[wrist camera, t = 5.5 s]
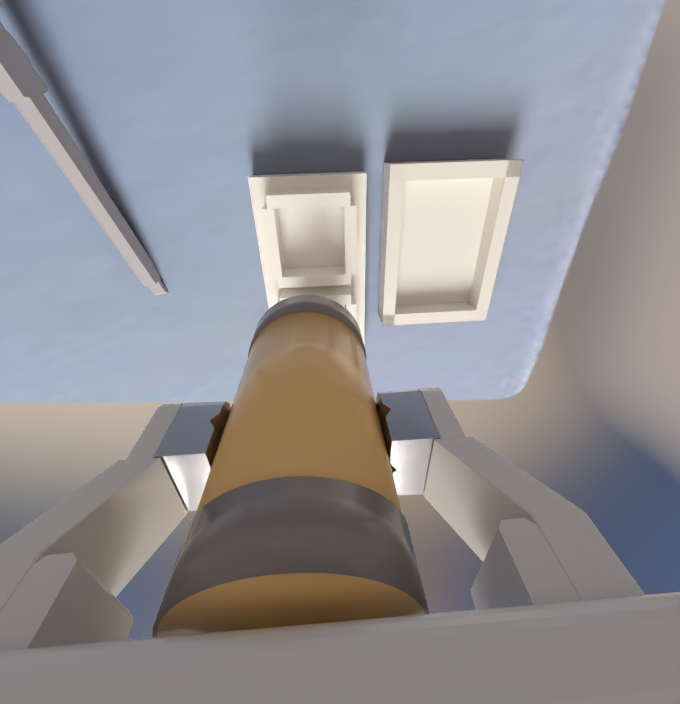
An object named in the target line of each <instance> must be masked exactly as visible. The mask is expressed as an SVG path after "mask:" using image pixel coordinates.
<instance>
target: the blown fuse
mask: <svg viewBox="0 0 680 704" xmlns="http://www.w3.org/2000/svg"><path fill="white" fill-rule="evenodd" d="M422 614H429V610H428V606H427V601H426V598H425V593H424V589H423V586H422V581H421V577H420V573H419V569H418V565H417V561H416V556H415V552H414V548H413V544H412V540H411V536H410V532H409V528H408V524H407V522H406V519H405V517H404V515H403V514H402V512H401V507H400V503H399V499H398V495H397V490H396V486H395V482H394V478H393V473H392V469H391V465H390V461H389V456H388V452H387V448H386V444H385V439H384V435H383V431H382V427H381V422H380V418H379V414H378V410H377V405H376V401H375V397H374V393H373V389H372V384H371V380H370V376H369V372H368V367H367V363H366V352H365V348H364V343H363V339H362V335H361V331H360V328H359V326H358V323H357V322H356V320H355V318H354V317H353V316H352V314H351V313H350V312H349V311H348V310H347V309H346V308H345V307H343V306H342V305H341V304H339V303H337V302H335V301H333V300H331V299H328V298H325V297H322V296H316V295H298V296H293V297H289V298H287V299H284V300H282V301H280V302H278V303H276V304H275V305H273V306H272V307H271V308H270V309H269V310H268V311H267V312H265V314H264V315H263V316H262V318H261V319H260V321H259V323H258V326H257V328H256V331H255V334H254V337H253V340H252V343H251V346H250V349H249V354H248V360H247V363H246V366H245V369H244V372H243V375H242V378H241V381H240V384H239V387H238V390H237V393H236V396H235V399H234V401H233V404H232V407H231V410H230V413H229V416H228V419H227V422H226V425H225V428H224V431H223V434H222V437H221V440H220V443H219V446H218V449H217V452H216V455H215V458H214V461H213V464H212V467H211V470H210V473H209V476H208V479H207V482H206V485H205V488H204V491H203V494H202V497H201V500H200V503H199V506H198V509H197V512H196V515H195V516H194V517H193V519H192V520H191V522H190V523H189V526H188V529H187V531H186V534H185V537H184V540H183V543H182V546H181V548H180V552H179V554H178V557H177V560H176V563H175V566H174V569H173V572H172V575H171V577H170V580H169V583H168V586H167V589H166V592H165V595H164V598H163V601H162V603H161V606H160V609H159V612H158V615H157V618H156V621H155V624H154V627H153V638H156V637H168V636H179V635H191V634H202V633H214V632H225V631H237V630H248V629H260V628H271V627H283V626H295V625H306V624H318V623H329V622H341V621H352V620H364V619H375V618H387V617H398V616H410V615H422Z"/></svg>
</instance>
